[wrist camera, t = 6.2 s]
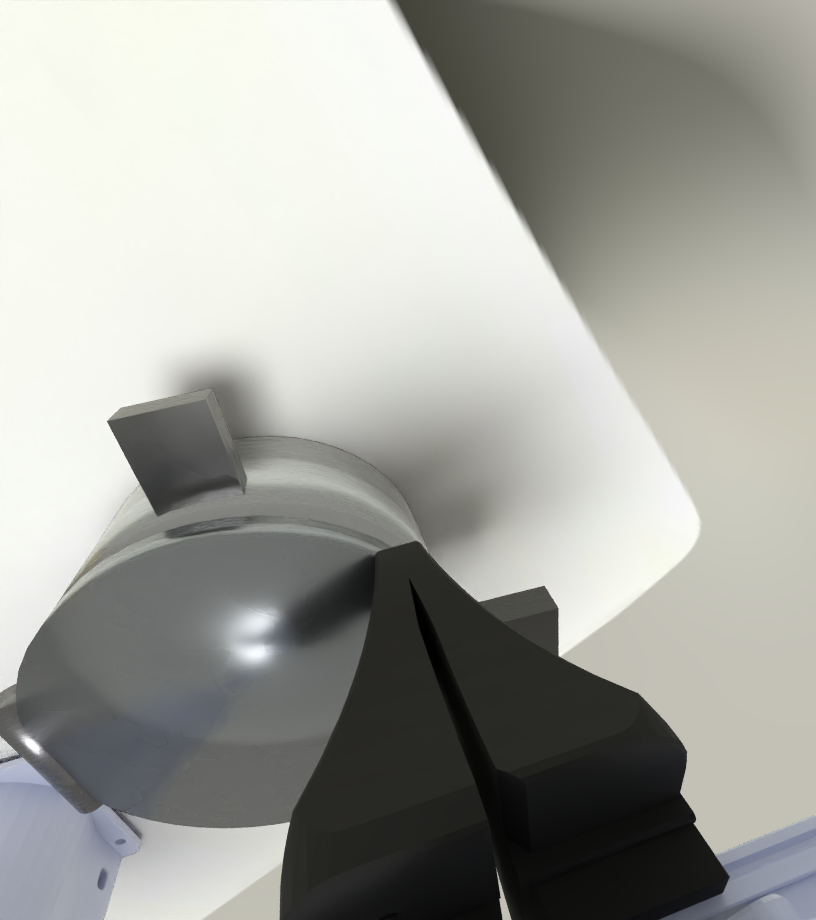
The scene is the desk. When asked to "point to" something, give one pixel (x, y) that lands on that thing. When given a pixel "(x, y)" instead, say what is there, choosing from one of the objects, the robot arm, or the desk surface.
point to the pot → (239, 478)
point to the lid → (208, 669)
